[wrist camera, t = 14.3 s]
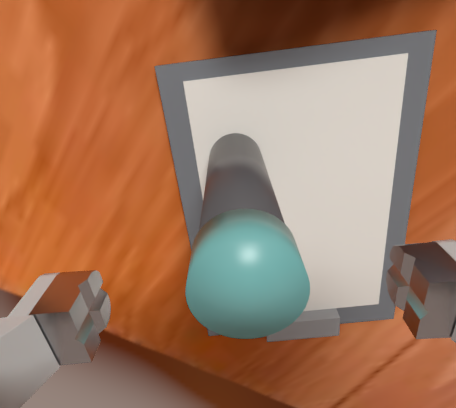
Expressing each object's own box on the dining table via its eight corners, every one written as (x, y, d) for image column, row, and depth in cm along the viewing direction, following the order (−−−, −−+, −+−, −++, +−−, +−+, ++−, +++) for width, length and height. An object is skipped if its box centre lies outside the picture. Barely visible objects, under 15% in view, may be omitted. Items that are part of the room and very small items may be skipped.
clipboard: (156, 65, 19) (150, 67, 18) (430, 30, 19) (450, 29, 17) (209, 330, 29) (208, 347, 27) (390, 313, 28) (400, 329, 27)
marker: (202, 134, 20) (174, 249, 9) (261, 127, 20) (310, 235, 9) (211, 188, 22) (195, 343, 11) (265, 182, 22) (310, 333, 10)
